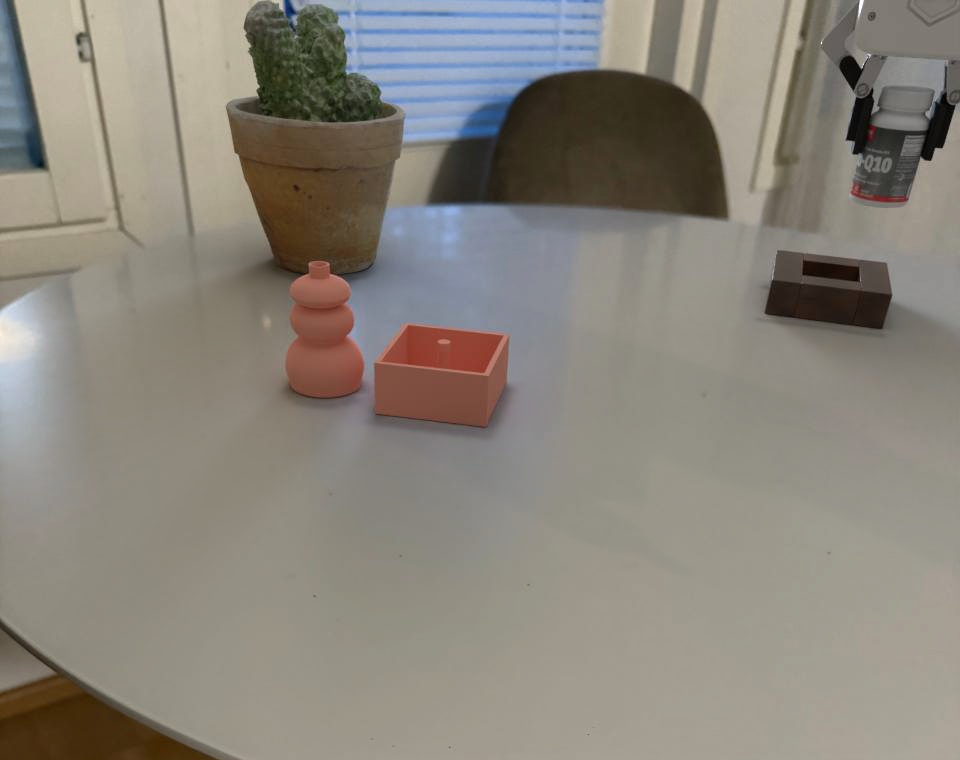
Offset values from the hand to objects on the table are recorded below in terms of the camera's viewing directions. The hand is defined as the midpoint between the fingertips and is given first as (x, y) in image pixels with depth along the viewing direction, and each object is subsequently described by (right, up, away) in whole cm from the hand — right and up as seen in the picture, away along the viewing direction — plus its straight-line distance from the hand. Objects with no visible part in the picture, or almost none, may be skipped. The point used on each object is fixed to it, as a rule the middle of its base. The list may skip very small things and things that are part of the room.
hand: (890, 152), depth 78 cm
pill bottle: (0, -3, +2) cm, 4 cm away
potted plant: (-51, +3, +31) cm, 60 cm away
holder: (+4, -3, +26) cm, 26 cm away
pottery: (-41, -19, +3) cm, 45 cm away
